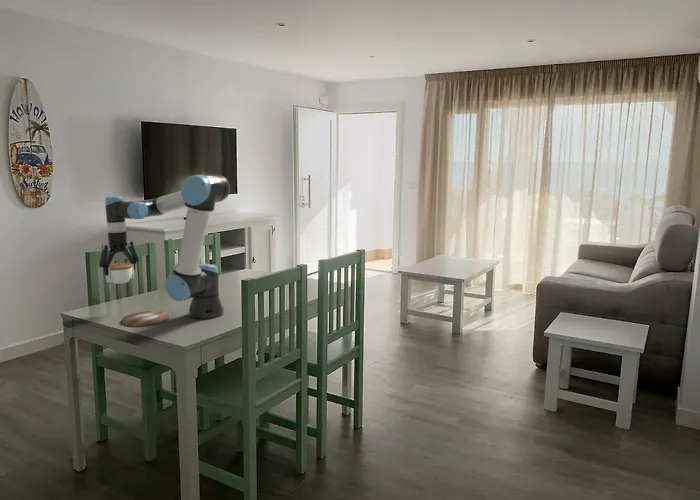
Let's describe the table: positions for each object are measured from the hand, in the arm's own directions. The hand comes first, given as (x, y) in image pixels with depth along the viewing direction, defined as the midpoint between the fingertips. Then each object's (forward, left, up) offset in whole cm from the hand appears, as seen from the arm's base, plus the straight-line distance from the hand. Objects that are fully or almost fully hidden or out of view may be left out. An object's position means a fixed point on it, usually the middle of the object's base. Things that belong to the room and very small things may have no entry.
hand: (120, 280), depth 243 cm
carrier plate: (-17, +5, -15) cm, 23 cm away
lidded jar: (0, 0, -1) cm, 1 cm away
